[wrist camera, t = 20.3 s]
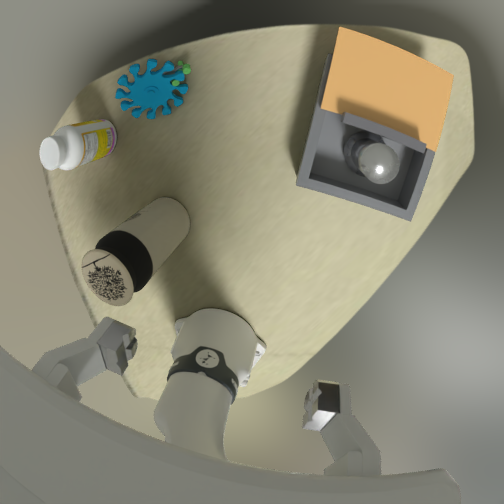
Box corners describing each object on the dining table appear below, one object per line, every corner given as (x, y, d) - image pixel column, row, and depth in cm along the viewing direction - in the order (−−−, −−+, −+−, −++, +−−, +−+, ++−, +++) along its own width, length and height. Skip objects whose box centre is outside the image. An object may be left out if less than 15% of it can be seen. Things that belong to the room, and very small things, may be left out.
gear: (139, 132, 36) (100, 89, 27) (141, 109, 38) (107, 68, 29) (207, 99, 34) (175, 46, 25) (203, 79, 36) (175, 31, 27)
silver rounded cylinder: (390, 139, 32) (412, 147, 25) (378, 180, 35) (396, 197, 28) (349, 125, 32) (362, 128, 25) (338, 167, 35) (347, 181, 28)
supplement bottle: (84, 138, 39) (30, 154, 28) (103, 110, 37) (47, 119, 25) (104, 164, 41) (51, 186, 30) (125, 137, 38) (70, 152, 27)
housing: (399, 208, 37) (410, 221, 32) (296, 176, 37) (296, 185, 33) (432, 102, 28) (448, 102, 24) (325, 61, 29) (328, 53, 25)
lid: (431, 157, 28) (440, 161, 25) (318, 115, 28) (320, 115, 26) (450, 76, 22) (461, 74, 19) (338, 28, 23) (341, 21, 20)
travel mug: (197, 237, 45) (145, 306, 29) (157, 245, 47) (98, 309, 31) (181, 191, 41) (114, 242, 26) (141, 203, 43) (69, 254, 28)
